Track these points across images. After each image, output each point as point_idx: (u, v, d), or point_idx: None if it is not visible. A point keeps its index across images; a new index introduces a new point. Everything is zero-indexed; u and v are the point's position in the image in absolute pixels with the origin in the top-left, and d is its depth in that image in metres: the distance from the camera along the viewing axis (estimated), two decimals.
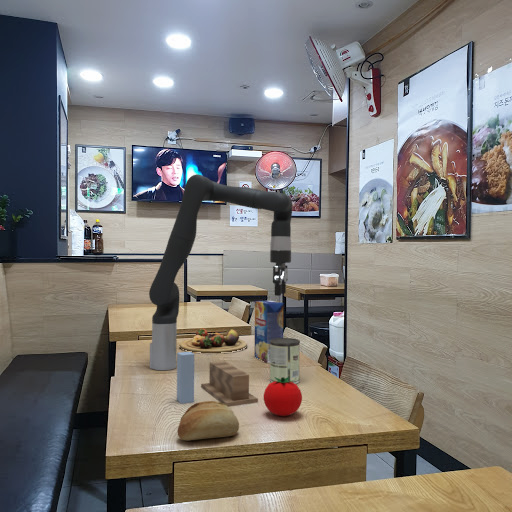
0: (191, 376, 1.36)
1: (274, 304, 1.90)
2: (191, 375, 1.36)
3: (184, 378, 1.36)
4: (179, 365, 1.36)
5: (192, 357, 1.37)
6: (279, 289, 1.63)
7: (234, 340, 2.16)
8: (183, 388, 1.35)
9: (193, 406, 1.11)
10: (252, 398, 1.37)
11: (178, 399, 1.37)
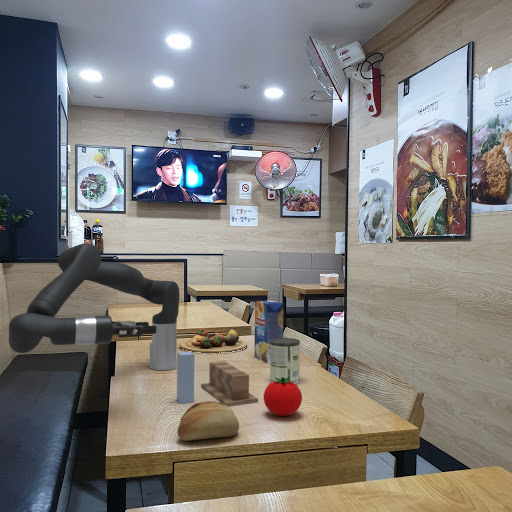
0: (191, 376, 1.36)
1: (274, 304, 1.90)
2: (191, 375, 1.36)
3: (184, 378, 1.36)
4: (179, 365, 1.36)
5: (192, 357, 1.37)
6: None
7: (234, 340, 2.16)
8: (183, 388, 1.35)
9: (193, 406, 1.11)
10: (252, 398, 1.37)
11: (178, 399, 1.37)
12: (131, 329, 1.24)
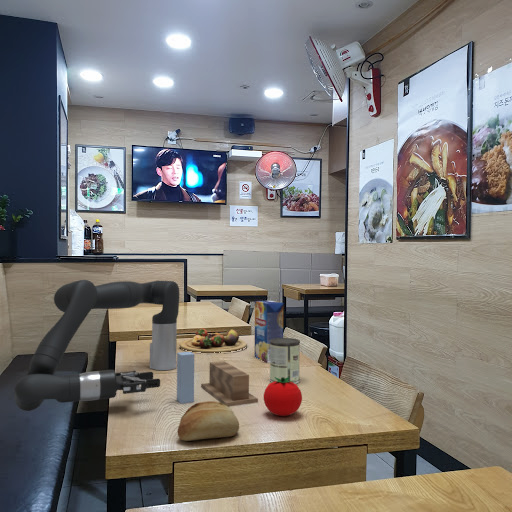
0: (191, 376, 1.36)
1: (274, 304, 1.90)
2: (191, 375, 1.36)
3: (184, 378, 1.36)
4: (179, 365, 1.36)
5: (192, 357, 1.37)
6: None
7: (234, 340, 2.16)
8: (183, 388, 1.35)
9: (193, 406, 1.11)
10: (252, 398, 1.37)
11: (178, 399, 1.37)
12: (135, 385, 1.25)
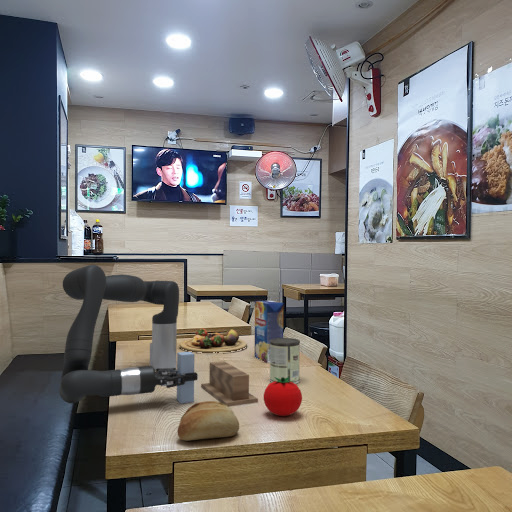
0: None
1: (274, 304, 1.90)
2: None
3: None
4: (179, 365, 1.36)
5: (192, 357, 1.37)
6: None
7: (234, 340, 2.16)
8: (183, 388, 1.35)
9: (193, 406, 1.11)
10: (252, 398, 1.37)
11: (178, 399, 1.37)
12: (177, 379, 1.31)
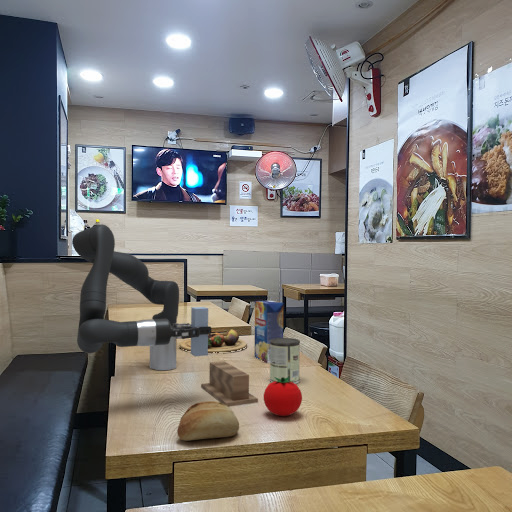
0: None
1: (274, 304, 1.90)
2: None
3: None
4: (194, 319, 1.38)
5: (206, 311, 1.39)
6: None
7: (234, 340, 2.16)
8: (197, 341, 1.38)
9: (193, 406, 1.11)
10: (252, 398, 1.37)
11: (192, 352, 1.39)
12: (192, 330, 1.33)
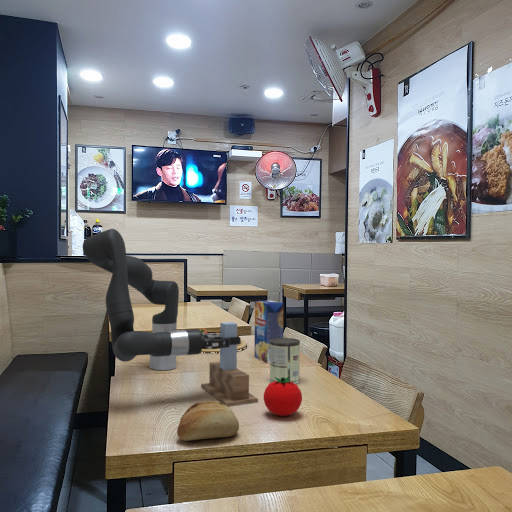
0: None
1: (274, 304, 1.90)
2: None
3: None
4: (223, 334, 1.43)
5: (235, 326, 1.44)
6: None
7: None
8: (226, 356, 1.43)
9: (193, 406, 1.11)
10: (252, 398, 1.37)
11: (221, 366, 1.44)
12: (222, 341, 1.37)
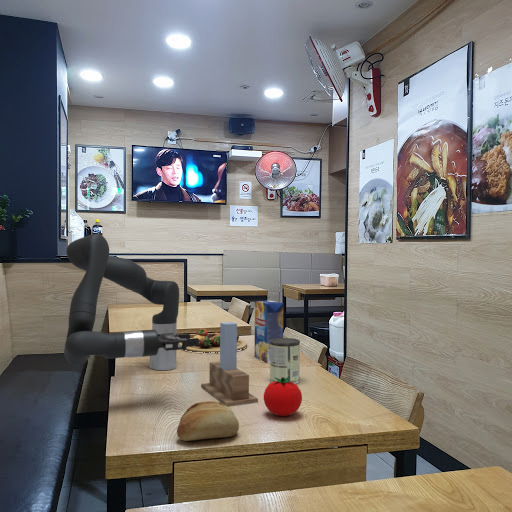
0: (234, 344, 1.44)
1: (274, 304, 1.90)
2: (234, 343, 1.44)
3: (227, 346, 1.43)
4: (223, 334, 1.43)
5: (235, 326, 1.44)
6: None
7: None
8: (226, 356, 1.43)
9: (193, 406, 1.11)
10: (252, 398, 1.37)
11: (221, 366, 1.44)
12: (176, 343, 1.31)
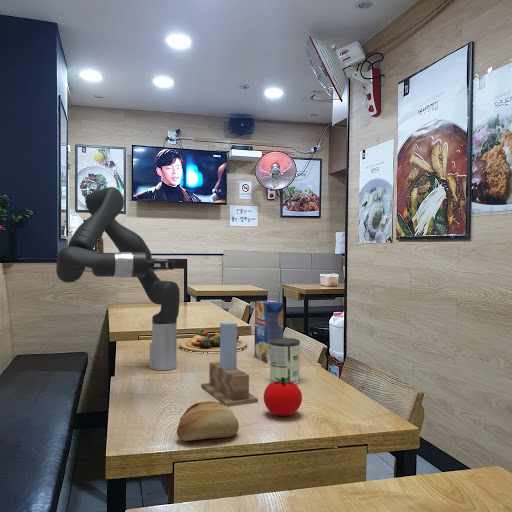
0: (234, 344, 1.44)
1: (274, 304, 1.90)
2: (234, 343, 1.44)
3: (227, 346, 1.43)
4: (223, 334, 1.43)
5: (235, 326, 1.44)
6: None
7: None
8: (226, 356, 1.43)
9: (193, 406, 1.11)
10: (252, 398, 1.37)
11: (221, 366, 1.44)
12: (164, 262, 1.37)
